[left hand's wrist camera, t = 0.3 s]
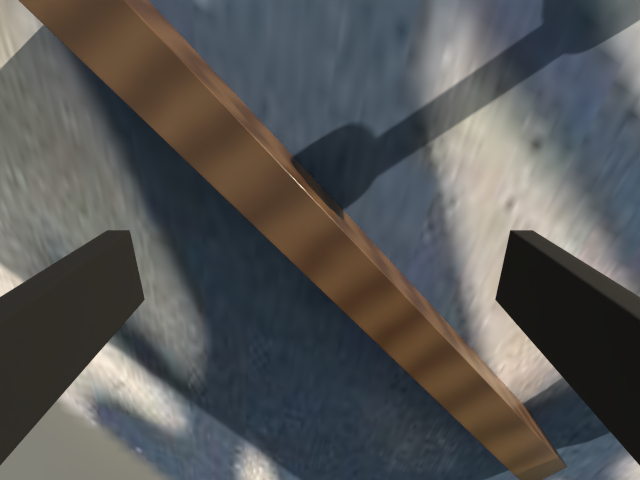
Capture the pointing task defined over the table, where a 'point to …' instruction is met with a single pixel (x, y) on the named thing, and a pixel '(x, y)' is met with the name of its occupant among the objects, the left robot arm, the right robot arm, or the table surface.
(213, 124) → the post
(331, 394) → the table surface
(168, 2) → the table surface
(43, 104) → the table surface
